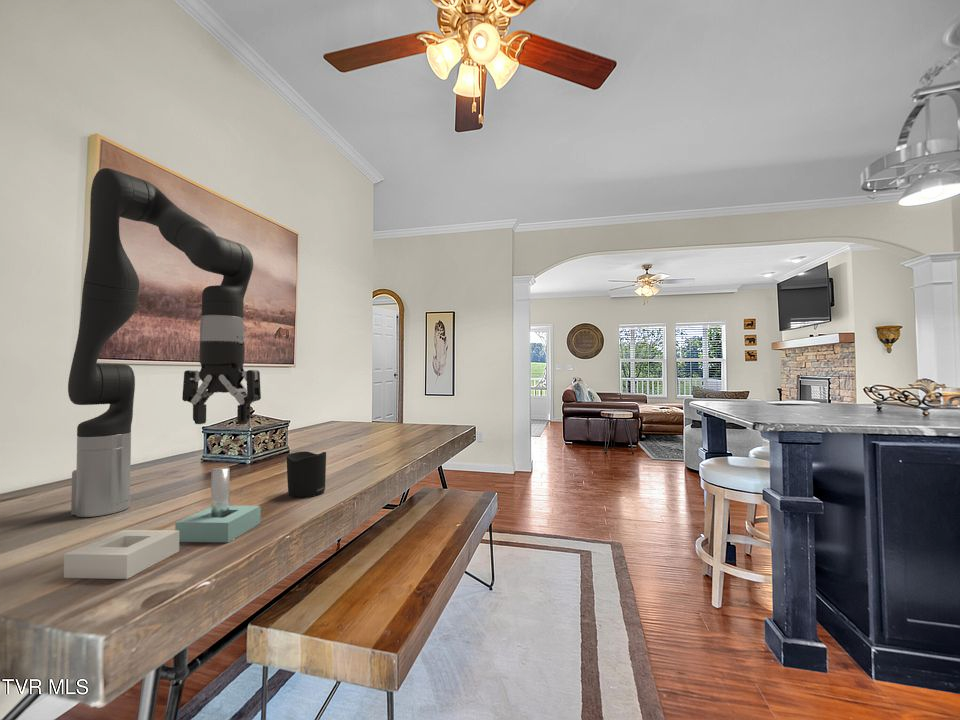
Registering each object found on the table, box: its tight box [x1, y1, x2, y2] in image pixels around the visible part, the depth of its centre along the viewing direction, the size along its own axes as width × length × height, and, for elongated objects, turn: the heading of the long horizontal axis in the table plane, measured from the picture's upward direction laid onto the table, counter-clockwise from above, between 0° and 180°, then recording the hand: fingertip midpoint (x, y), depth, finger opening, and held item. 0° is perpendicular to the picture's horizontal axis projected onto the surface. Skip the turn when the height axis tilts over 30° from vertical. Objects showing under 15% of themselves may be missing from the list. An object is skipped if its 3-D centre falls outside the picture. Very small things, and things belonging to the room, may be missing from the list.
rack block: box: [174, 505, 262, 543], centre depth 82 cm, size 10×10×4 cm
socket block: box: [63, 529, 180, 580], centre depth 68 cm, size 10×10×4 cm
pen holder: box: [286, 451, 327, 499], centre depth 109 cm, size 9×9×10 cm
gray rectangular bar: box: [210, 466, 231, 518], centre depth 82 cm, size 3×3×12 cm
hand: (221, 423), depth 83 cm, fingers open, 8 cm apart
